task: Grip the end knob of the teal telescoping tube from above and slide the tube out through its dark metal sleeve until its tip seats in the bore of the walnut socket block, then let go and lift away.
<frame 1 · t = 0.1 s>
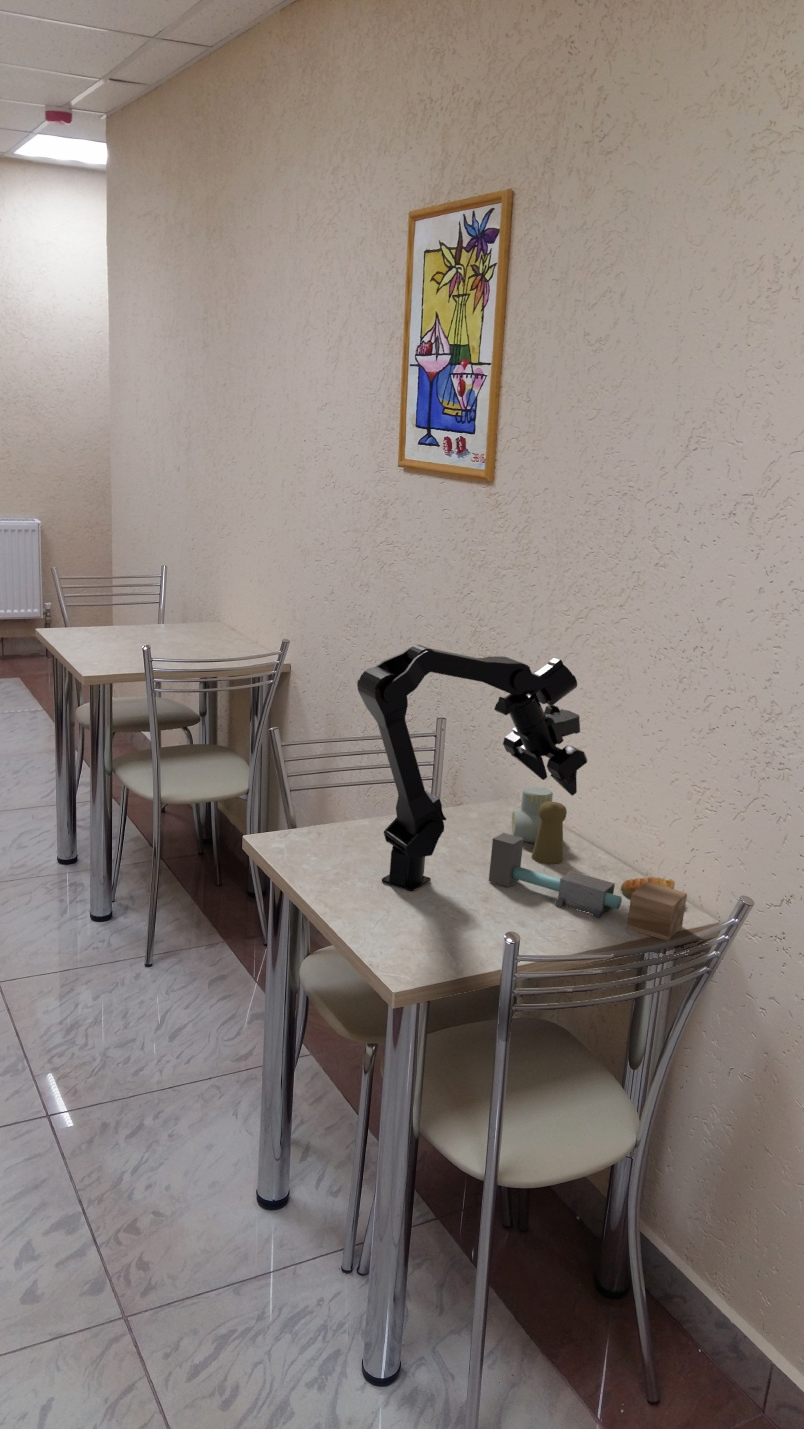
hand: (559, 786, 204), 15 cm above the table, tool tilted 30°, fingers open, 9 cm apart
air freshener: (532, 839, 219), on the table
pastry: (650, 899, 195), on the table
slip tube: (556, 874, 190), point 4 cm above the table, slide at 0.0 cm
sleeve: (584, 906, 189), on the table
cork: (547, 859, 209), on the table
socket block: (654, 927, 182), on the table
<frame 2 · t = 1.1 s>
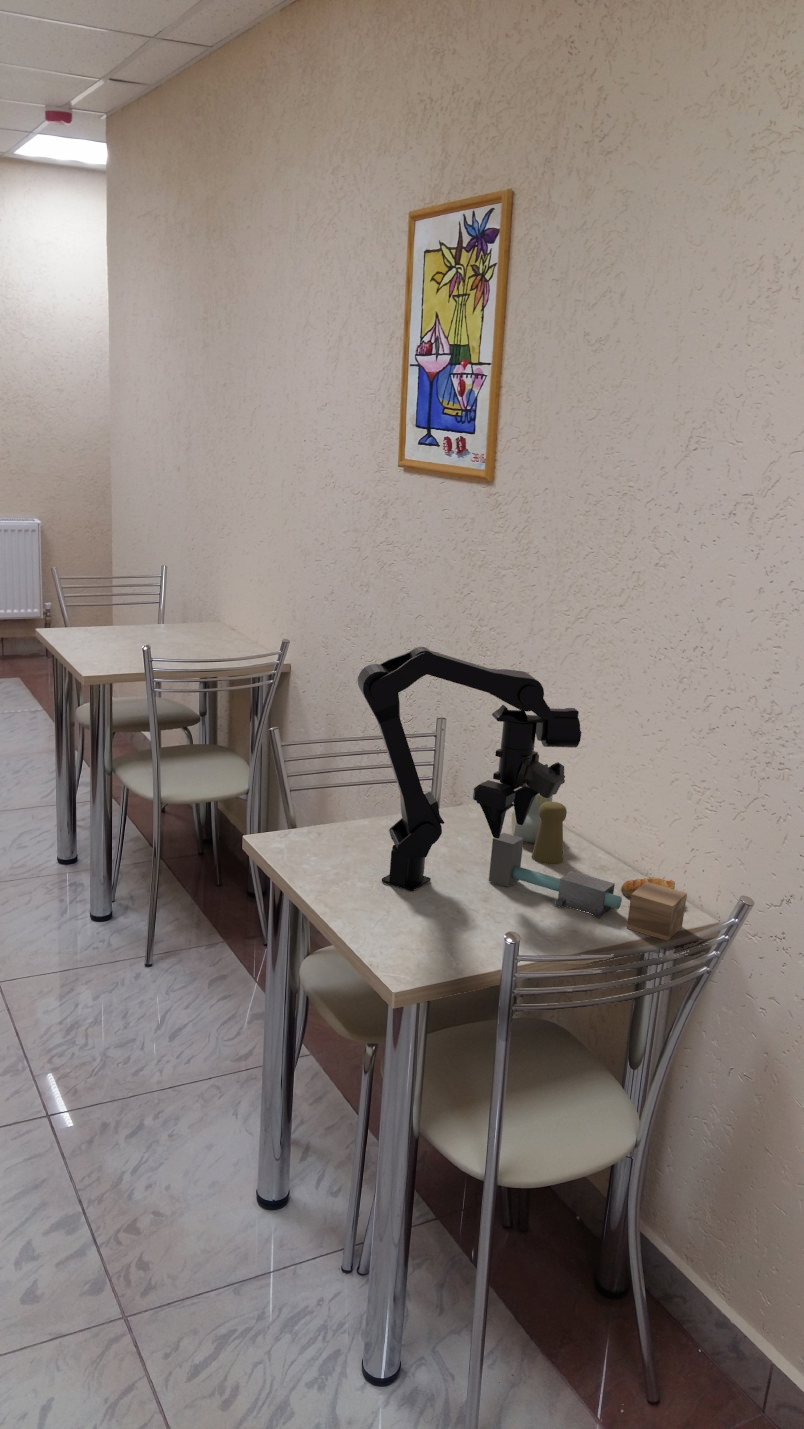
hand: (508, 831, 194), 10 cm above the table, tool pointing down, fingers open, 9 cm apart
nothing on the table moved.
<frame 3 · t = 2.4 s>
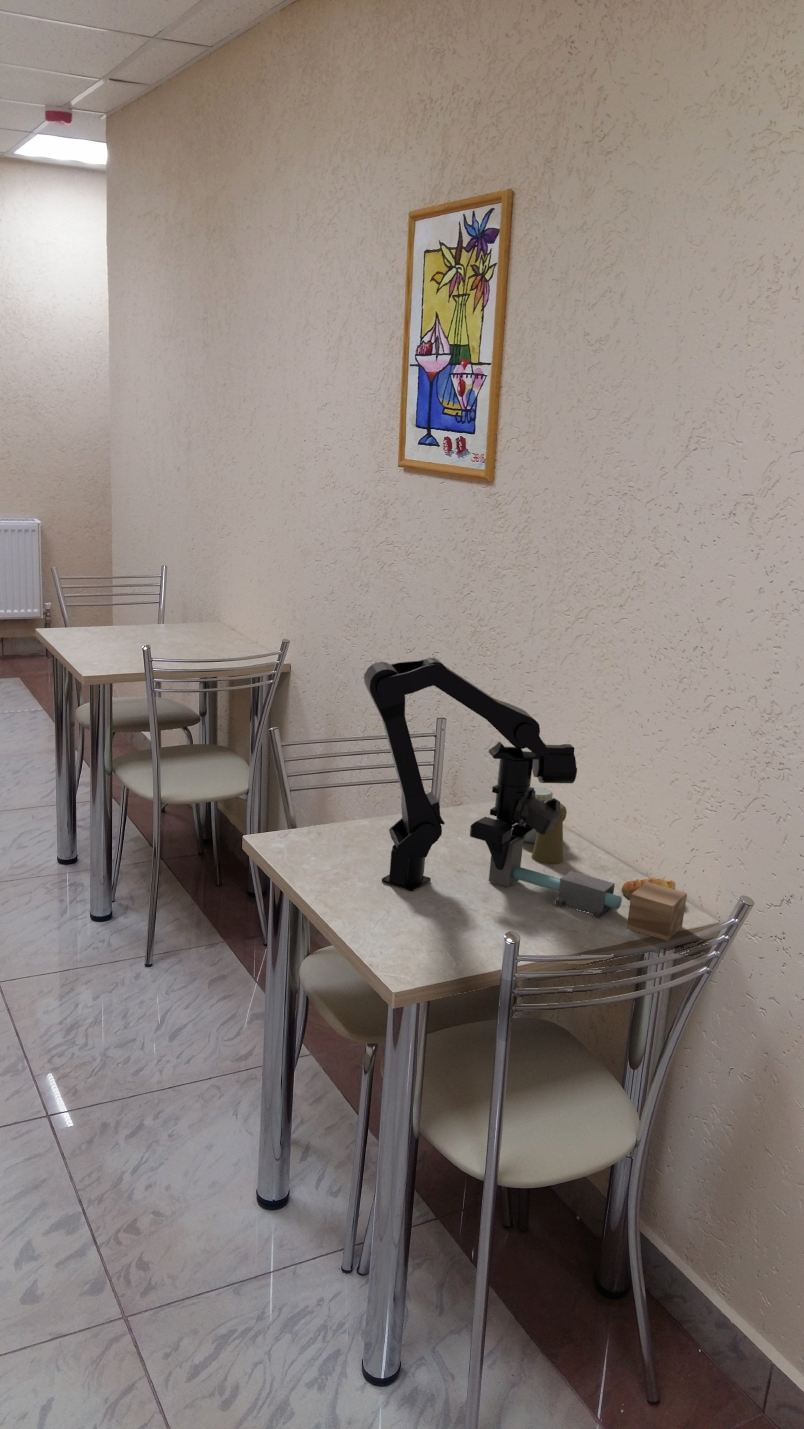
hand: (505, 865, 196), 3 cm above the table, tool pointing down, fingers closed on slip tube, 4 cm apart
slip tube: (556, 874, 190), point 4 cm above the table, slide at 0.0 cm, touching gripper
everything else where it was.
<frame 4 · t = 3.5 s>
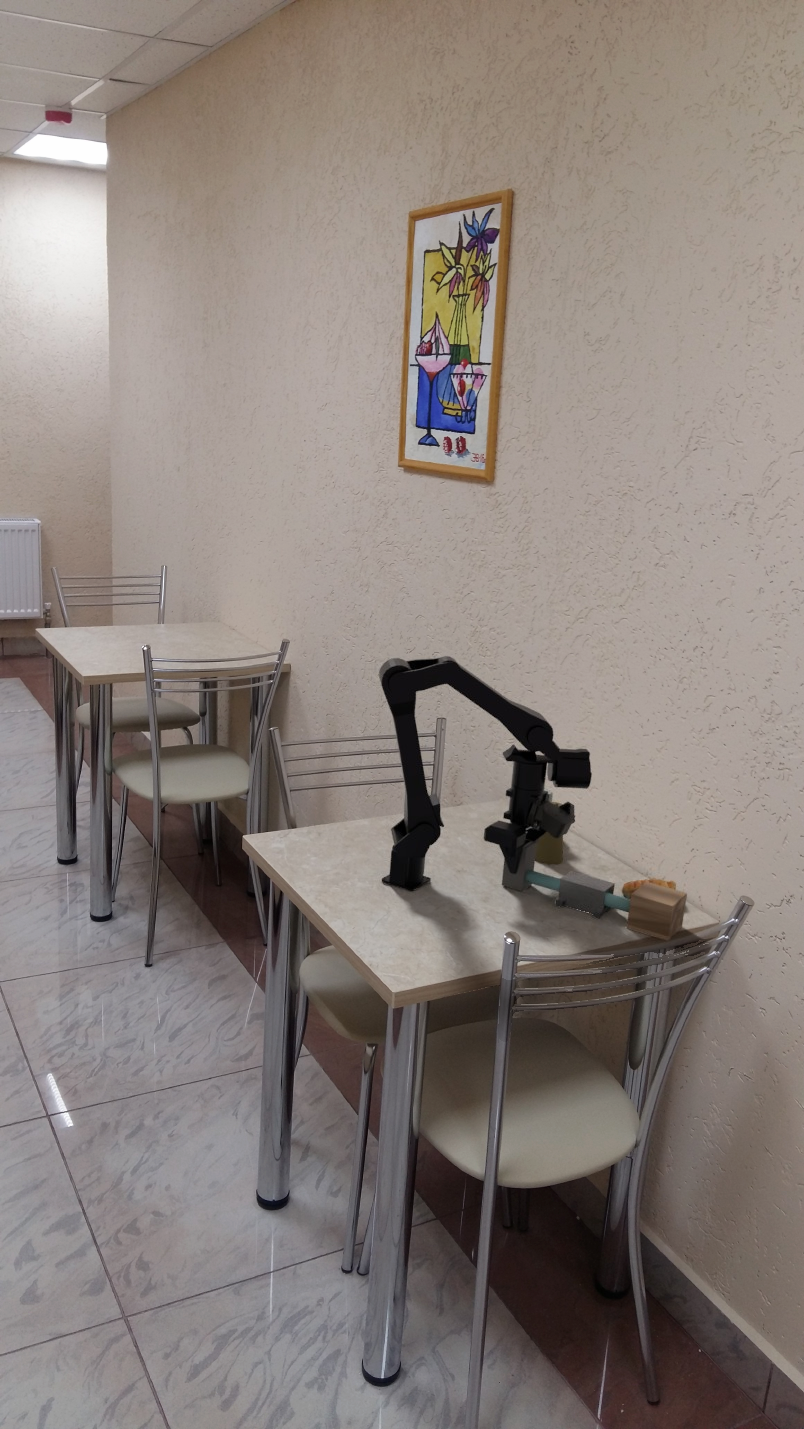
hand: (518, 869, 194), 3 cm above the table, tool pointing down, fingers closed on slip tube, 4 cm apart
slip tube: (570, 878, 189), point 4 cm above the table, slide at 2.6 cm, touching gripper
everything else where it was.
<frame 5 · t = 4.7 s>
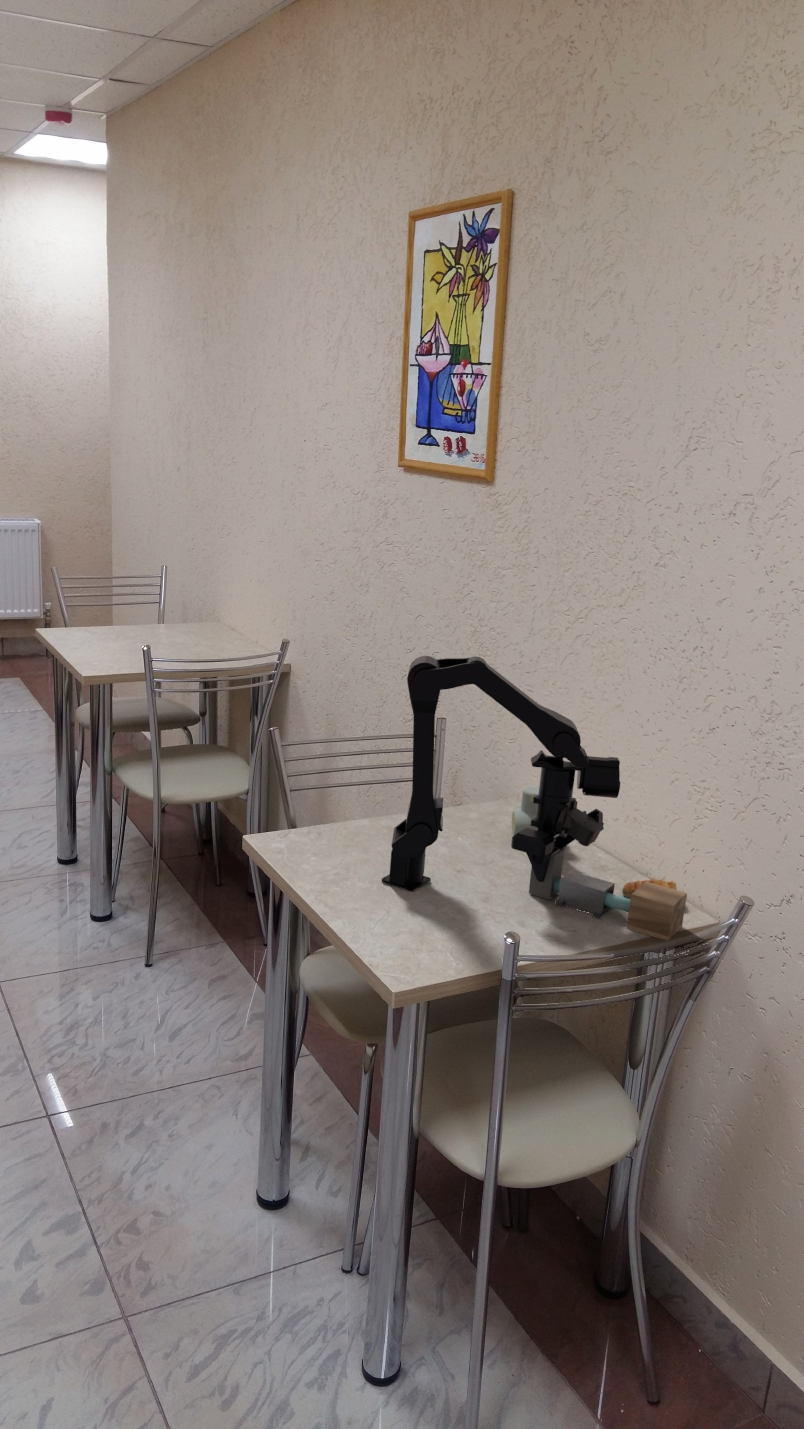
hand: (545, 877, 192), 3 cm above the table, tool pointing down, fingers closed on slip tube, 4 cm apart
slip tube: (598, 886, 186), point 4 cm above the table, slide at 7.9 cm, touching gripper
everything else where it was.
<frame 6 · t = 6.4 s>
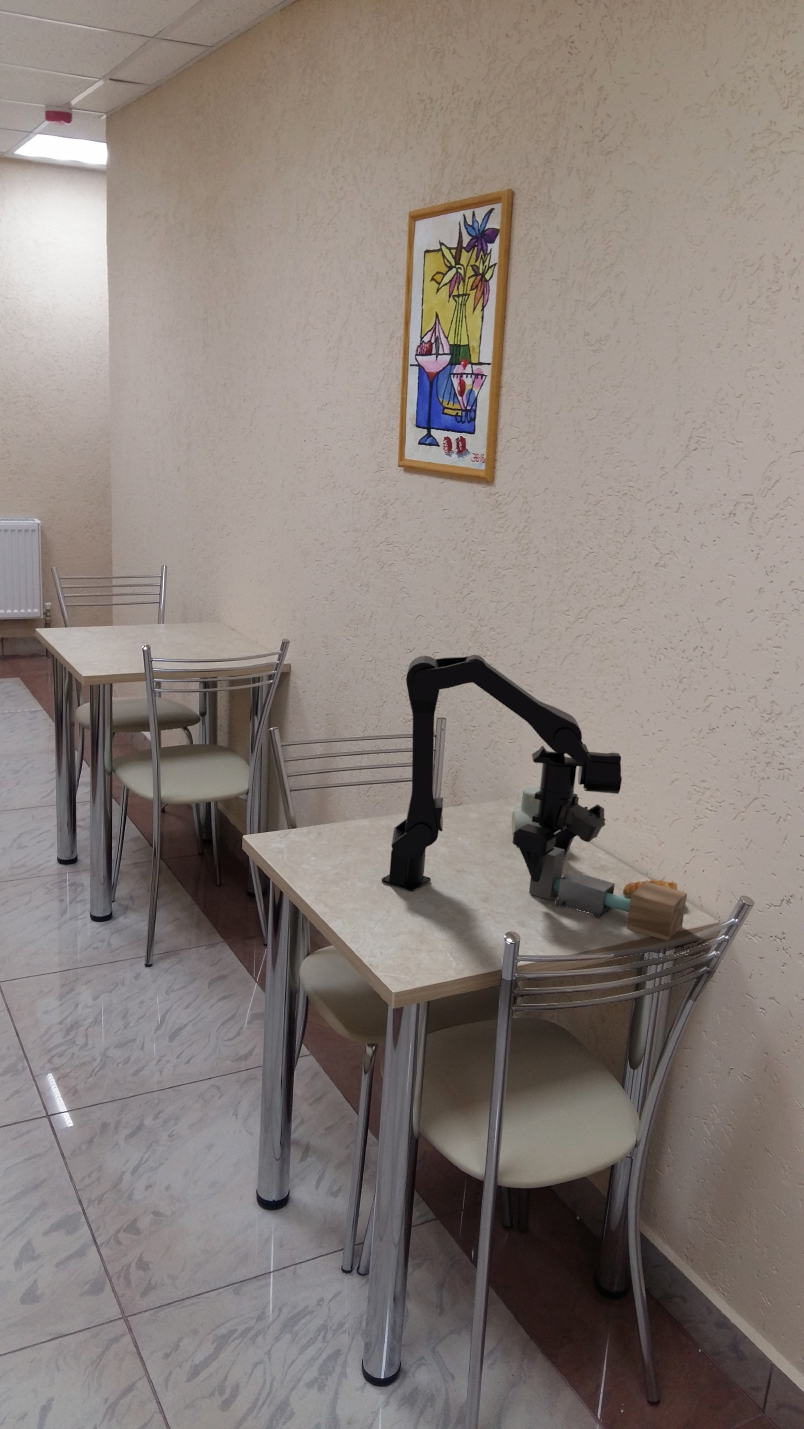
hand: (547, 873, 191), 4 cm above the table, tool pointing down, fingers open, 9 cm apart
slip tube: (599, 886, 186), point 4 cm above the table, slide at 8.0 cm
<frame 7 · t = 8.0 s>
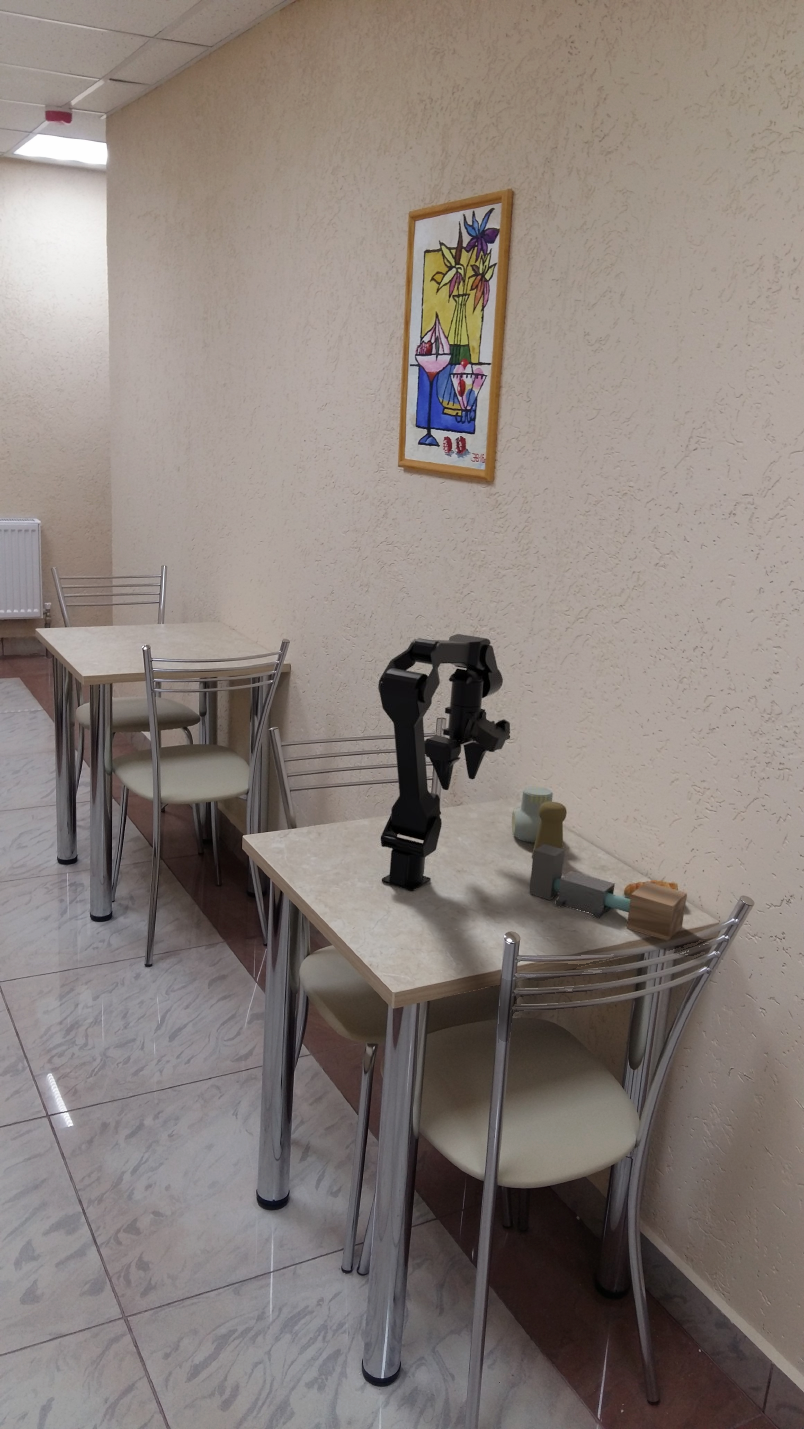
hand: (458, 784, 207), 13 cm above the table, tool pointing down, fingers open, 9 cm apart
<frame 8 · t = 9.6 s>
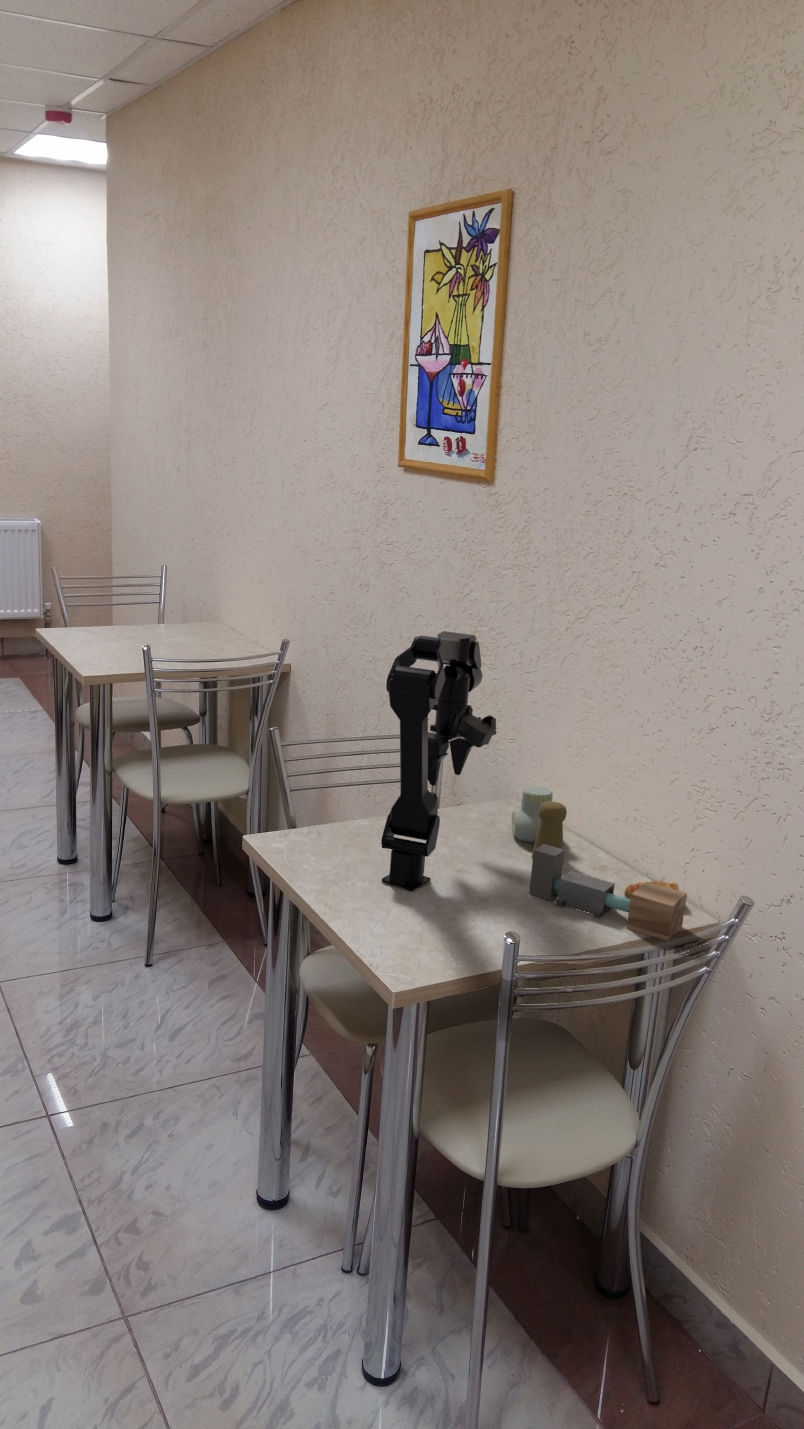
hand: (445, 779, 209), 13 cm above the table, tool pointing down, fingers open, 9 cm apart
at the end: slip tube slide at 8.0 cm; the gripper is holding nothing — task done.
